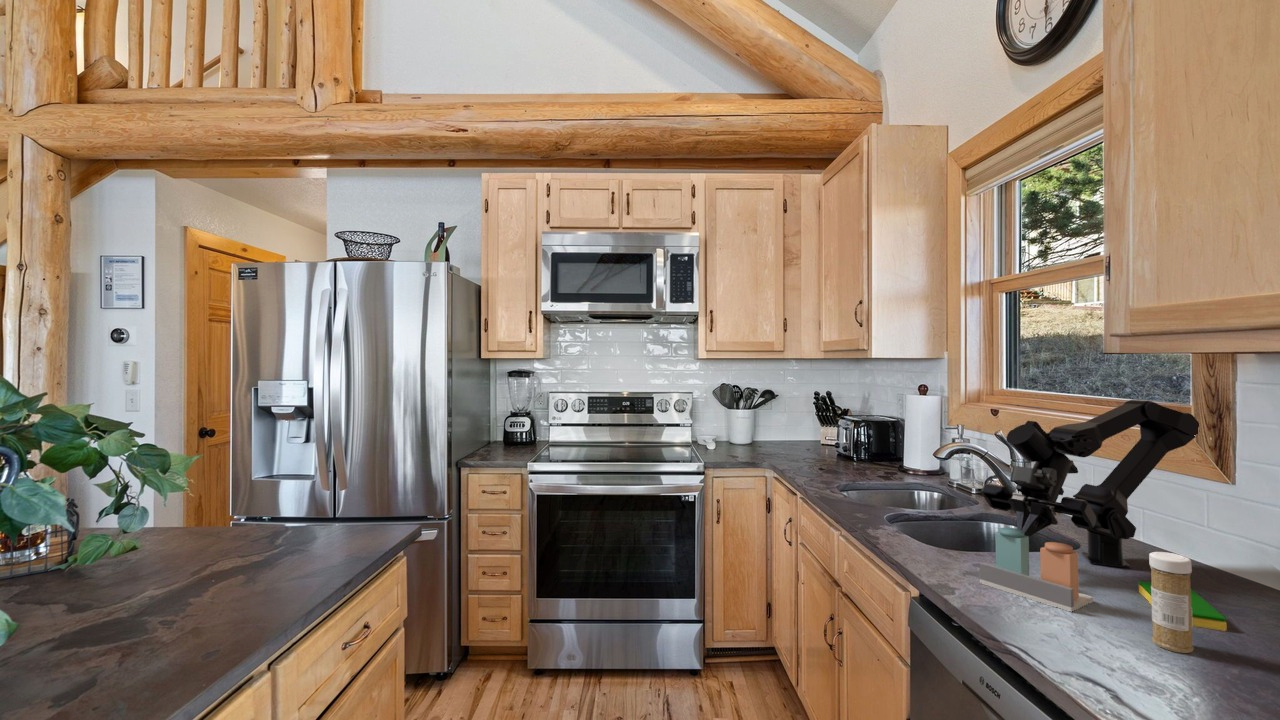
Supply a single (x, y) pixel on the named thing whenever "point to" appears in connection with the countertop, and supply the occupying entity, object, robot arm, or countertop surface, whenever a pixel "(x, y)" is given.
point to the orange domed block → (1060, 565)
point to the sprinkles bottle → (1171, 601)
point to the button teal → (1012, 550)
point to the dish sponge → (1194, 609)
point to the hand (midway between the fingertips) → (1020, 538)
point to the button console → (1032, 587)
